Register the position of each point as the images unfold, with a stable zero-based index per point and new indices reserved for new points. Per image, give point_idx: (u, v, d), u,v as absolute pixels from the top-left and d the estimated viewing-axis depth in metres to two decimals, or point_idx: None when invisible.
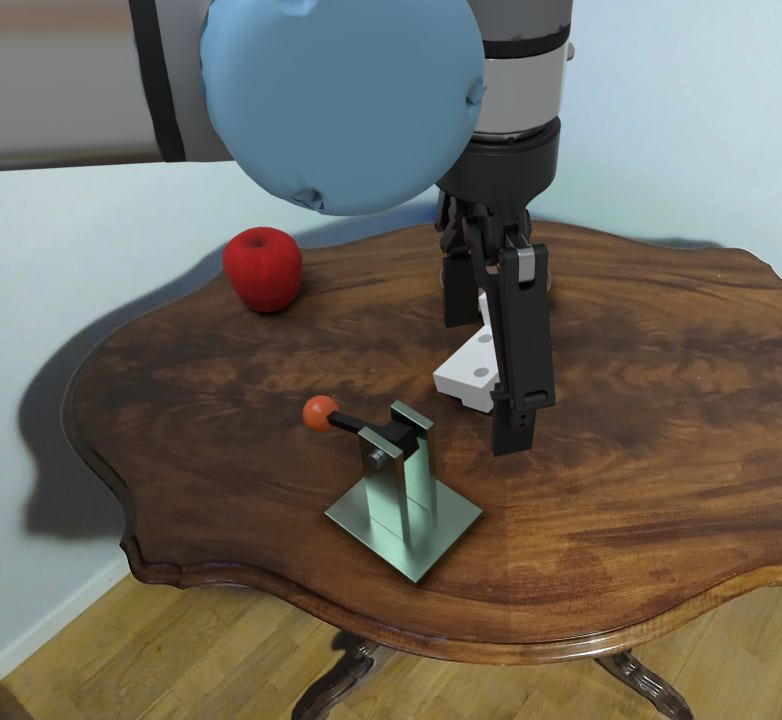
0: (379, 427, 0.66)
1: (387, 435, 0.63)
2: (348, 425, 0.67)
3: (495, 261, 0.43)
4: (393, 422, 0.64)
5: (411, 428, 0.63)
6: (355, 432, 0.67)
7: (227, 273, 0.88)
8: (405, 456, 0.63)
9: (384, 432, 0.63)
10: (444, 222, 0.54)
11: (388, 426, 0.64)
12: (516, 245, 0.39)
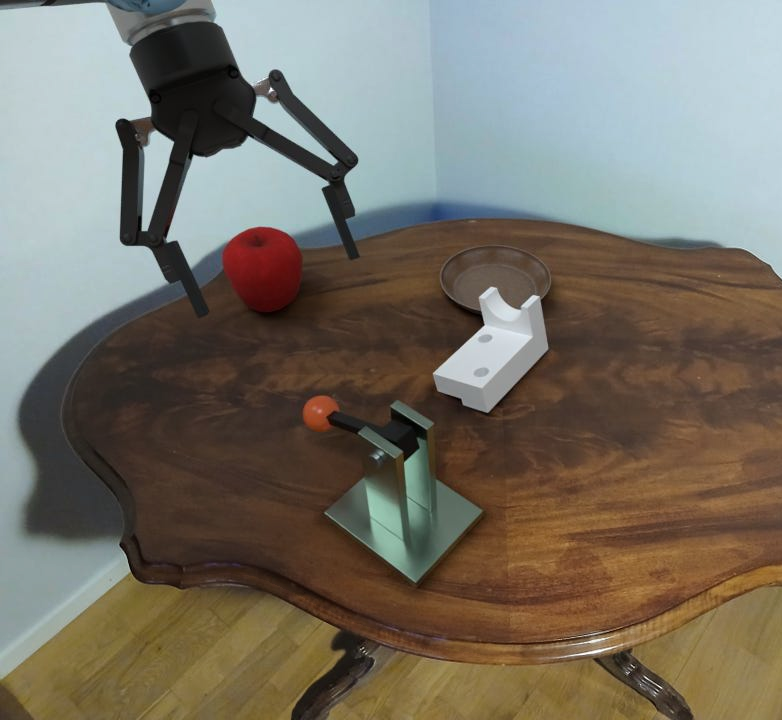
0: (379, 427, 0.66)
1: (387, 435, 0.63)
2: (348, 425, 0.67)
3: None
4: (393, 422, 0.64)
5: (411, 428, 0.63)
6: (355, 432, 0.67)
7: (227, 273, 0.88)
8: (405, 456, 0.63)
9: (384, 432, 0.63)
10: (137, 222, 0.58)
11: (388, 426, 0.64)
12: None
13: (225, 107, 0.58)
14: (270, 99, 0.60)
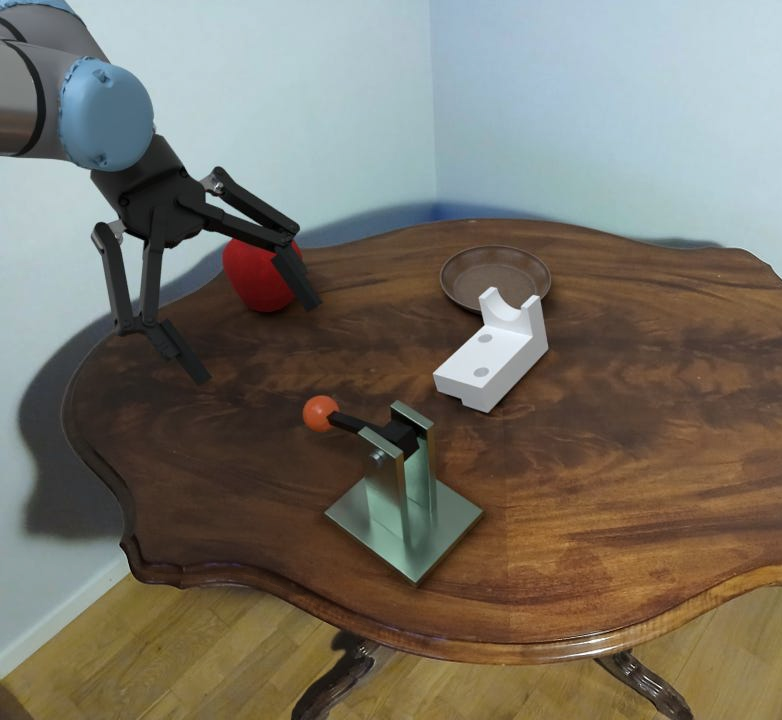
0: (379, 427, 0.66)
1: (387, 435, 0.63)
2: (348, 425, 0.67)
3: None
4: (393, 422, 0.64)
5: (411, 428, 0.63)
6: (355, 432, 0.67)
7: (227, 273, 0.88)
8: (405, 456, 0.63)
9: (384, 432, 0.63)
10: None
11: (388, 426, 0.64)
12: (210, 173, 0.71)
13: (188, 199, 0.67)
14: (216, 191, 0.71)
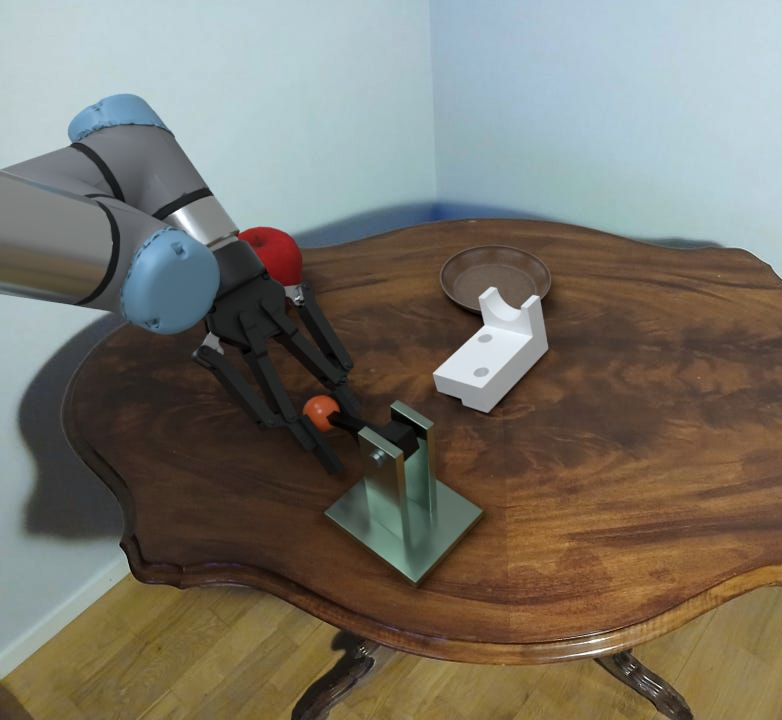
0: (379, 427, 0.66)
1: (387, 435, 0.63)
2: (348, 425, 0.67)
3: None
4: (393, 422, 0.64)
5: (411, 428, 0.63)
6: (355, 432, 0.67)
7: None
8: (405, 456, 0.63)
9: (384, 432, 0.63)
10: None
11: (388, 426, 0.64)
12: None
13: (270, 304, 0.68)
14: (295, 302, 0.71)
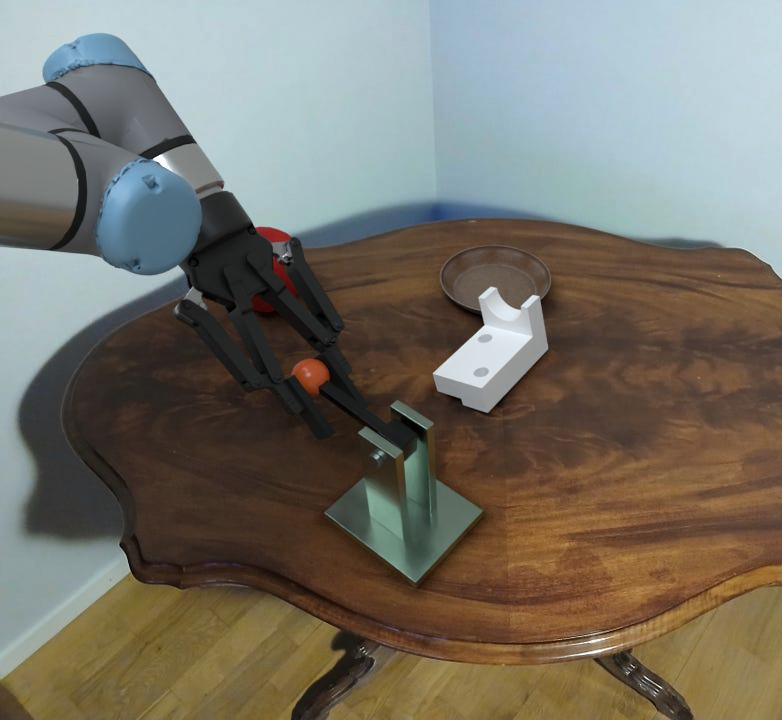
0: (379, 419, 0.65)
1: (391, 437, 0.63)
2: (343, 406, 0.66)
3: (273, 269, 0.67)
4: (397, 421, 0.64)
5: (416, 435, 0.63)
6: (349, 414, 0.66)
7: None
8: None
9: (388, 432, 0.63)
10: None
11: (392, 426, 0.64)
12: (286, 241, 0.69)
13: (257, 259, 0.65)
14: (283, 259, 0.68)
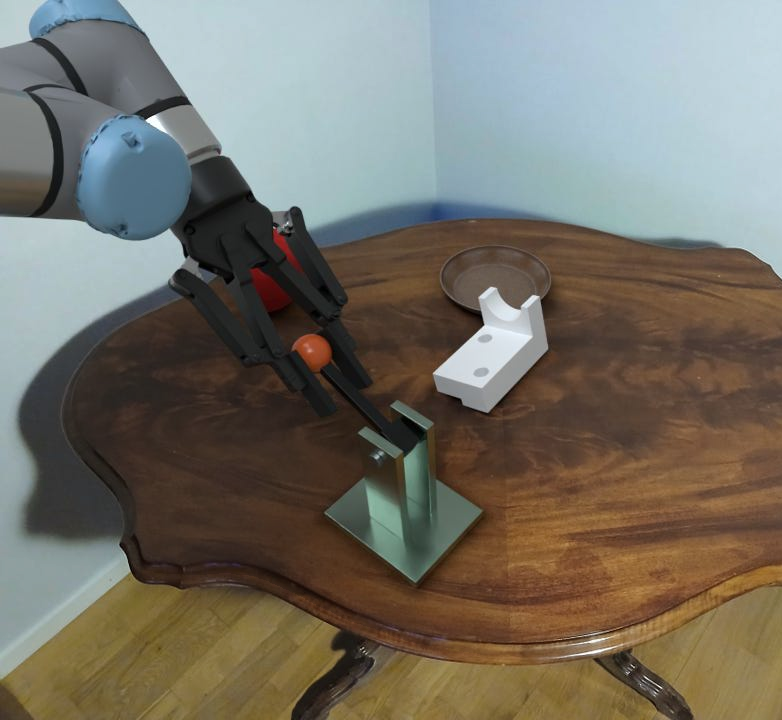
0: (381, 415, 0.64)
1: (395, 440, 0.63)
2: (346, 394, 0.64)
3: (273, 239, 0.64)
4: (400, 423, 0.64)
5: (418, 440, 0.63)
6: (350, 403, 0.64)
7: None
8: None
9: (392, 434, 0.63)
10: None
11: (395, 427, 0.63)
12: None
13: (256, 228, 0.62)
14: (283, 229, 0.65)
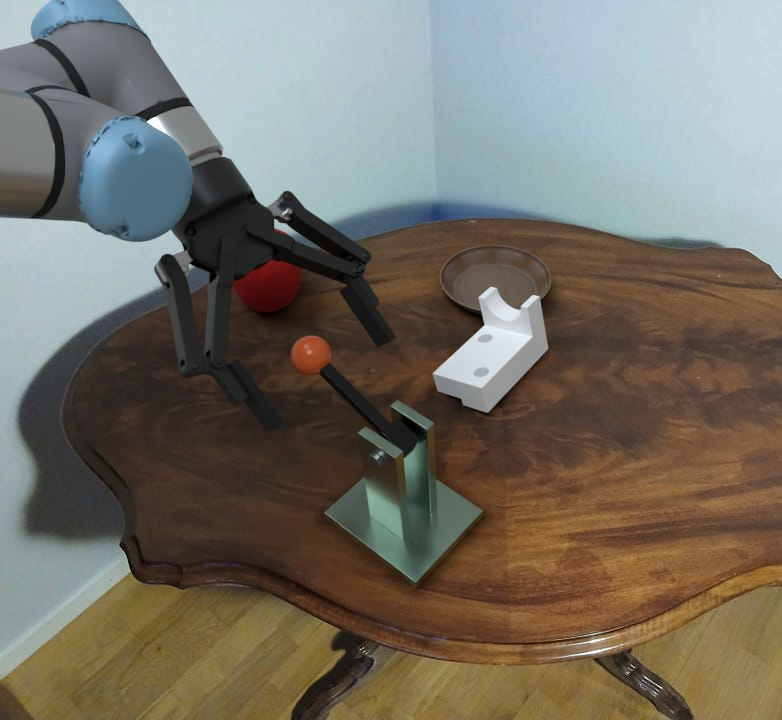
0: (381, 416, 0.64)
1: (394, 440, 0.63)
2: (346, 395, 0.64)
3: None
4: (400, 422, 0.64)
5: (418, 440, 0.63)
6: (350, 403, 0.64)
7: None
8: None
9: (392, 434, 0.63)
10: None
11: (395, 427, 0.63)
12: (277, 198, 0.65)
13: (257, 227, 0.62)
14: (285, 218, 0.65)
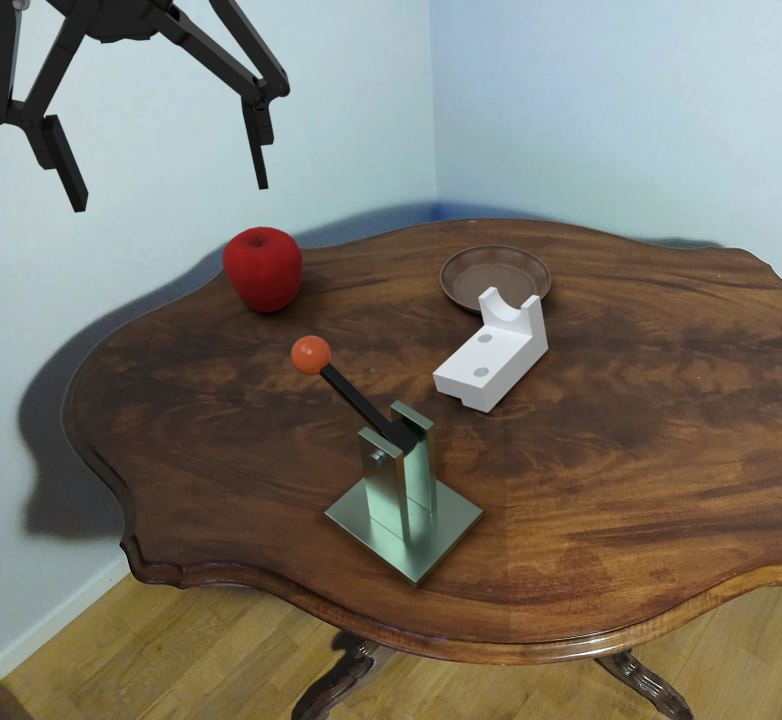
0: (381, 416, 0.64)
1: (394, 440, 0.63)
2: (346, 395, 0.64)
3: None
4: (400, 422, 0.64)
5: (418, 440, 0.63)
6: (350, 403, 0.64)
7: (227, 273, 0.88)
8: None
9: (392, 434, 0.63)
10: (8, 99, 0.49)
11: (395, 427, 0.63)
12: None
13: (137, 1, 0.46)
14: None
